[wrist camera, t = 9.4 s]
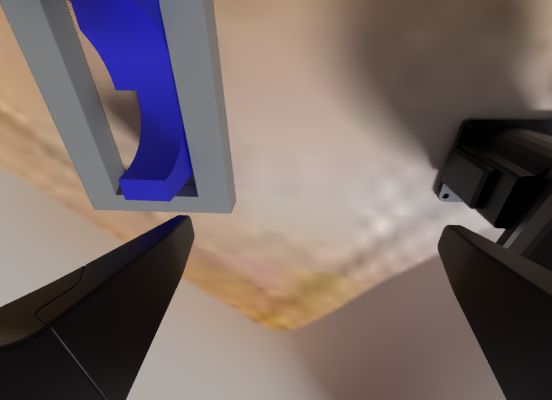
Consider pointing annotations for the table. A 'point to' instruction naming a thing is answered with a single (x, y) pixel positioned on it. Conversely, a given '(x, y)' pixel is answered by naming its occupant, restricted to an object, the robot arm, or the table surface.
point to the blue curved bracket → (142, 91)
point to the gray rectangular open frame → (90, 115)
